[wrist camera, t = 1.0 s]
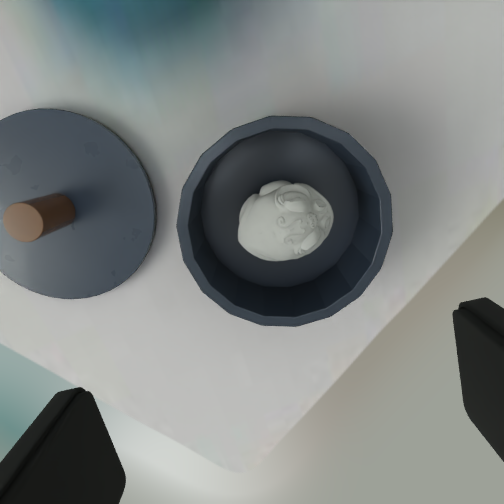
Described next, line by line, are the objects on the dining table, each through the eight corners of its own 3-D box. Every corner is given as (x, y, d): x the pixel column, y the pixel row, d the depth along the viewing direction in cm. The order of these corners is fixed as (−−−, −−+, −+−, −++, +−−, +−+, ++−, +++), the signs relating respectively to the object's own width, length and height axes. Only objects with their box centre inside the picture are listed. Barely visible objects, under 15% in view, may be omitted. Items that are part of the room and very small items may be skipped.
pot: (165, 156, 31) (143, 159, 25) (343, 94, 30) (365, 82, 24) (224, 313, 35) (218, 349, 29) (385, 265, 34) (414, 292, 28)
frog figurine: (331, 231, 33) (350, 254, 26) (254, 260, 33) (253, 291, 27) (306, 162, 31) (320, 168, 24) (226, 195, 32) (218, 209, 25)
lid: (-65, 147, 31) (-139, 148, 25) (112, 81, 30) (76, 66, 24) (25, 315, 35) (-21, 349, 29) (184, 264, 34) (169, 290, 28)
